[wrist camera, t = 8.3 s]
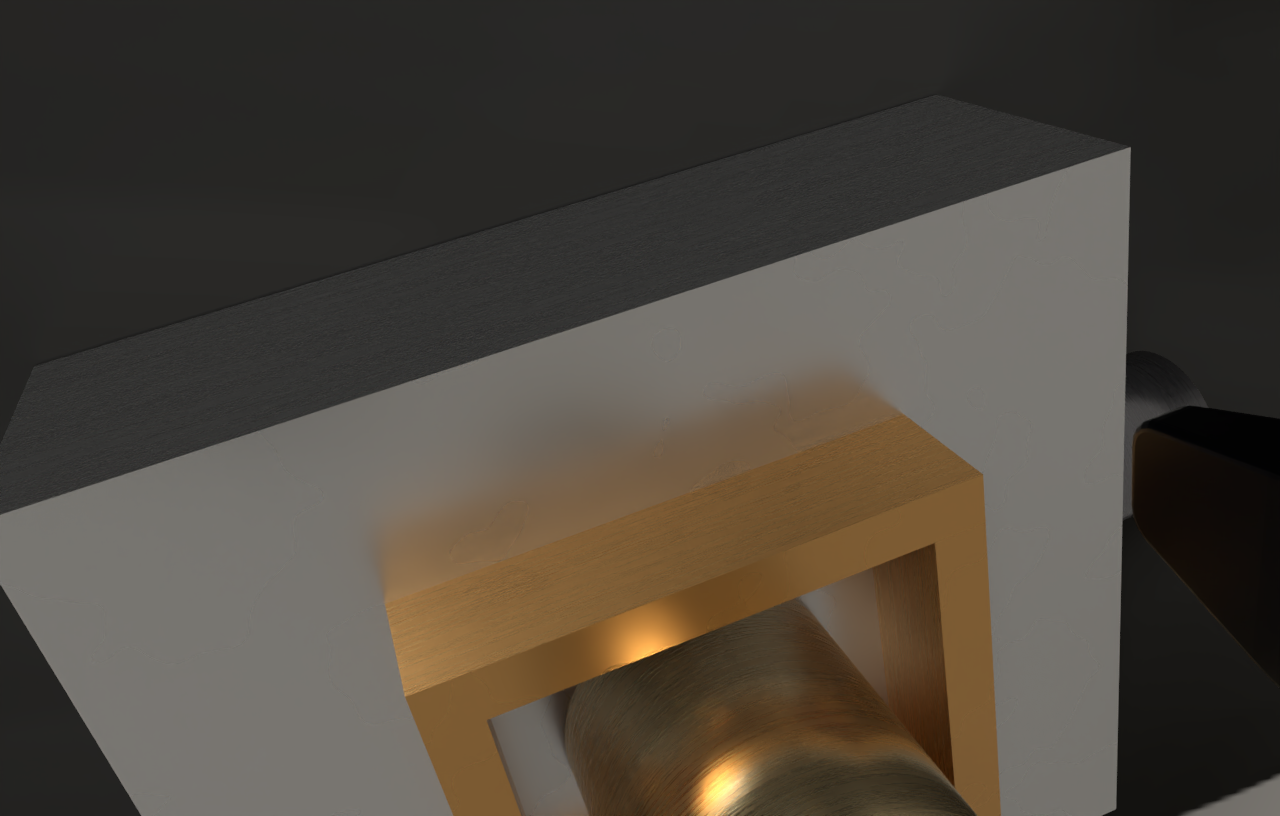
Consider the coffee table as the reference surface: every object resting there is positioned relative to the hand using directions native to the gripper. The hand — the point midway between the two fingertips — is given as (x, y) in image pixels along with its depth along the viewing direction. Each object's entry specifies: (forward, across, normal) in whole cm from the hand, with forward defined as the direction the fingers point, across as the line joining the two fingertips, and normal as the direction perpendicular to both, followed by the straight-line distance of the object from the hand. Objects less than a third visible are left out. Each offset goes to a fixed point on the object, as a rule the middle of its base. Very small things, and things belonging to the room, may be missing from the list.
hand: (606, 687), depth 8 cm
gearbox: (+12, -3, +7) cm, 14 cm away
